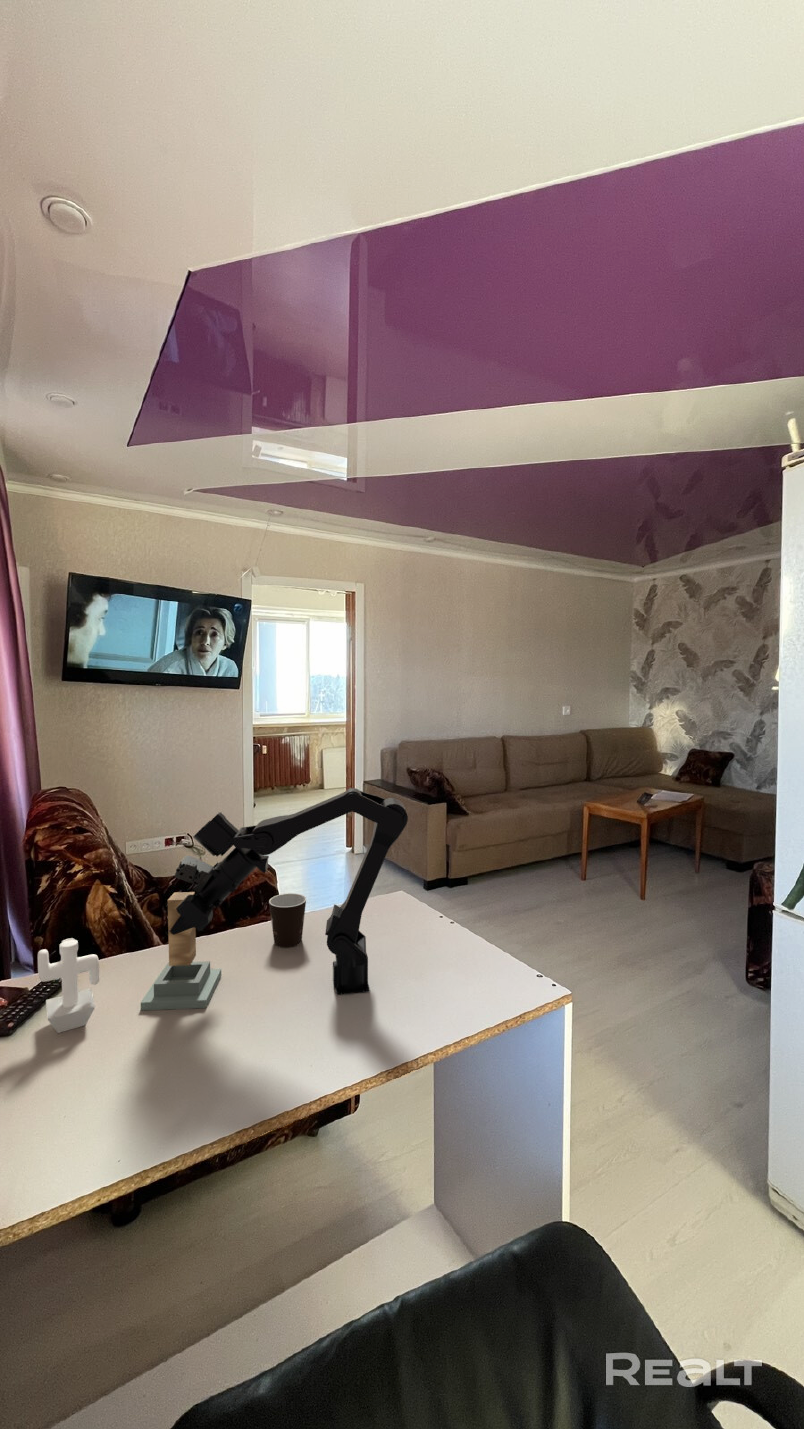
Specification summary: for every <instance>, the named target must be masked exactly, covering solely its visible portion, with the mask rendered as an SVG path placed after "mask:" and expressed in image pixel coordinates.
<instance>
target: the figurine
mask: <svg viewBox="0 0 804 1429" xmlns="http://www.w3.org/2000/svg"><path fill="white" fill-rule="evenodd" d="M78 941H79V940H77V939H75V938H73V937H71V938H66V939H63V940H61V943H60V944H58V945H59V946H58V947H59V955H60V960H59V961H57V962H52V963H50V959H49V958H50V957H49V956H50V954H49V951H48V949H46V948H45V949H40V950H39V951H38V952H37V973H38V979H39V981H41V982H43V983H44V982H50V981H53V980H54V981H55V980H58V979H61V994H62V995H61V996H57V997H52V998H49V999H48V998H47V999H46V1000H45V1006H46V1016H47V1021H48V1022H49V1023H50V1025H51V1026H52V1027H53V1029H54V1030H55V1031H56V1033H57V1034H59V1033H63V1032H65V1031H70V1030H73V1029H76V1028H80V1027H84V1026H86V1025H87V1024H88V1022H89V1019H90V1018H91V1015H92V1014H93V1012H94V1010H95V1008H96V1003H95V999H94V995H93V990H92V988H91V987H90V988H87V989H82V990H80V991H79V988H78V987H79V986H78V985H79V984H78V982H79V980H78V977H79V976H78V975H79V974H83V973H88V976H89V984H91V985H93V986H95V985H97V984H99V982H100V960H99V957H98V955H97V954H96V953H95V954H93V953H92V954H91V953H90V954H88V955H84V956H78V950H79V942H78Z"/></svg>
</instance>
